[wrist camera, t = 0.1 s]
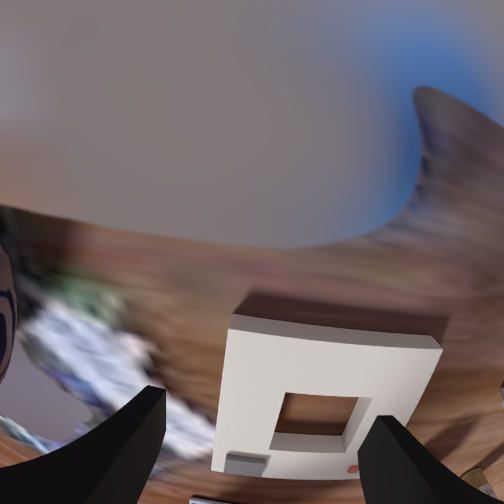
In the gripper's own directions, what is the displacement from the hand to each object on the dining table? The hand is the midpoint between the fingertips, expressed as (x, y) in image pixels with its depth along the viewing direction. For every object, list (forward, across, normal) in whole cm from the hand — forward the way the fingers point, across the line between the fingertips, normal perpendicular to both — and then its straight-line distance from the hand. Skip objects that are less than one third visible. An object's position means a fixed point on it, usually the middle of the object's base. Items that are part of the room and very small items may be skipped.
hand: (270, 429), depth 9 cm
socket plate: (+10, -5, +8) cm, 14 cm away
